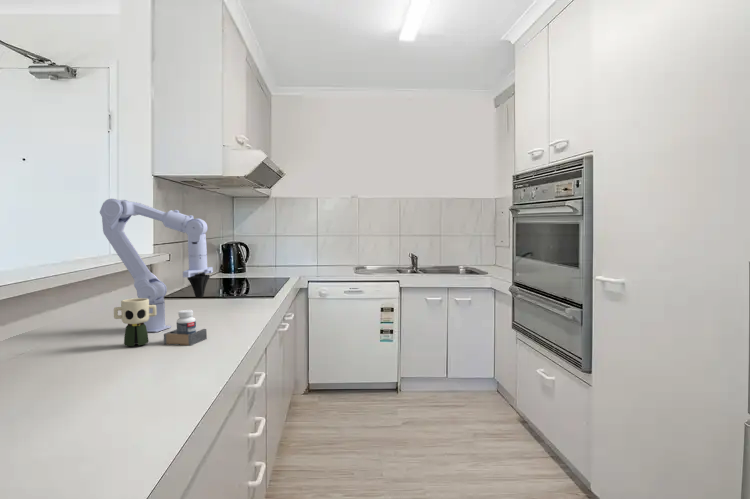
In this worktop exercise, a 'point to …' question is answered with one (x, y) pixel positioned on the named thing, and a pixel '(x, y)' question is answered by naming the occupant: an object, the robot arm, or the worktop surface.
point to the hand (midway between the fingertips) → (199, 297)
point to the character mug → (135, 319)
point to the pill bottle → (186, 322)
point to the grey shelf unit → (185, 337)
